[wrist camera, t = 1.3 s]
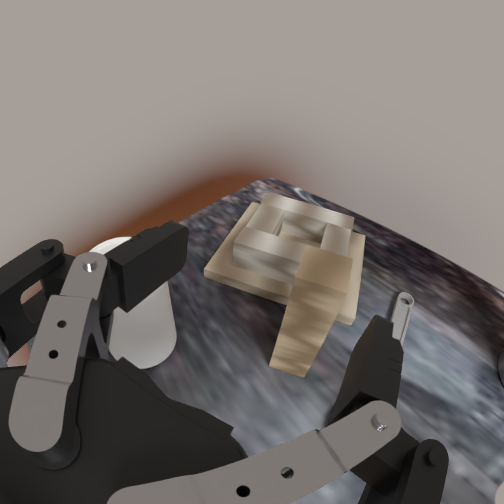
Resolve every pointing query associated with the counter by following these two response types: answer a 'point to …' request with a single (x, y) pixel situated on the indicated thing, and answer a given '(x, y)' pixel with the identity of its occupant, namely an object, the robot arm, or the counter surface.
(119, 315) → the beverage can
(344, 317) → the wooden socket base
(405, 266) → the counter surface
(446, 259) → the counter surface
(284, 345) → the tan long rectangular block
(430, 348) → the counter surface
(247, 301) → the counter surface
